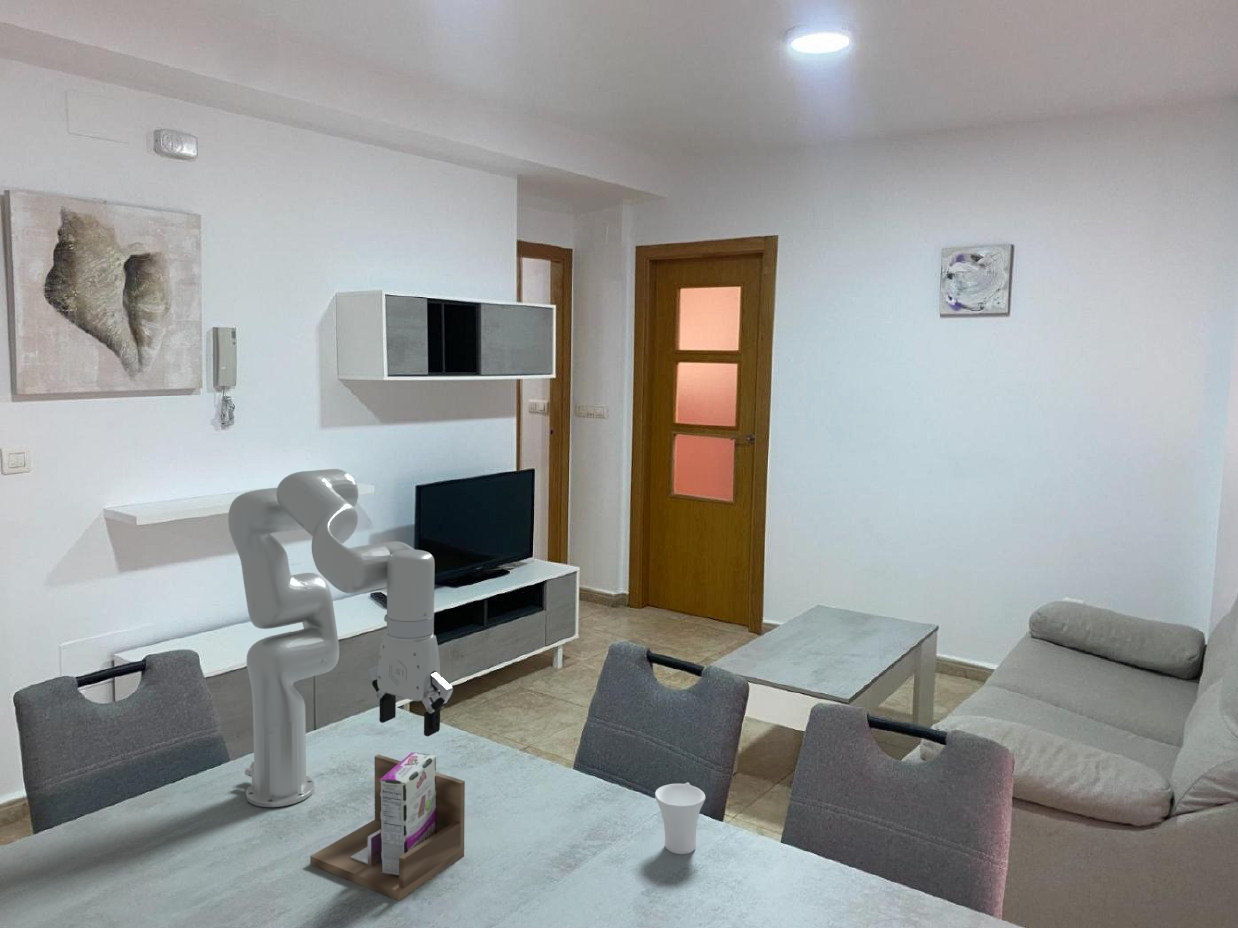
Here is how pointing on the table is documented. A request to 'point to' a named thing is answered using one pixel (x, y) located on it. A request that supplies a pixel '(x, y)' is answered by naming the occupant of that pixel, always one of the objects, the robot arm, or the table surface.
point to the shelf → (413, 863)
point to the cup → (680, 815)
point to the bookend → (370, 851)
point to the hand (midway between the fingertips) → (409, 726)
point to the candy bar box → (407, 808)
